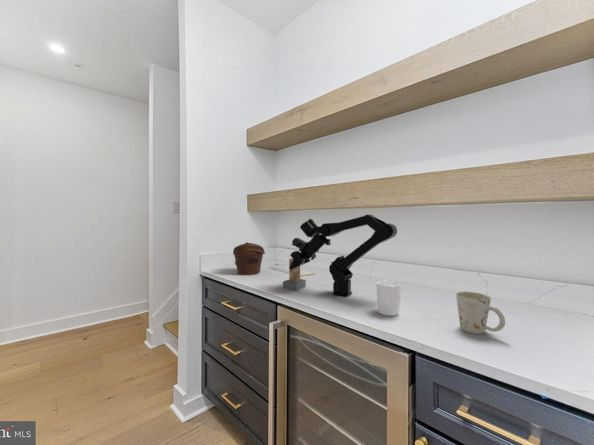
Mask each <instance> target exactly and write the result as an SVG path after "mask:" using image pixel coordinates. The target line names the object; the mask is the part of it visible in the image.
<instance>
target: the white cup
mask: <svg viewBox="0 0 594 445" xmlns="http://www.w3.org/2000/svg"><path fill="white" fill-rule="evenodd" d="M401 290H402V283H400V282H399V281H398V282H397V281H392V280H379V281H377V282H376V299H377V300H376V302H377V313H379V314H380V315H383V316H387V317H388V316H392V317H395V316H398V315H399V313H400V305H401Z"/></svg>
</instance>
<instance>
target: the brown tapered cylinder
mask: <svg viewBox="0 0 594 445" xmlns="http://www.w3.org/2000/svg"><path fill="white" fill-rule="evenodd" d="M232 253H233V255H234V261H233V264H235V266H236V271H237V273H238V274H239V275H241V276H251V275H258V274H259V273H260V272H261V267H262V261H263V257H264V256H263V255H265V249H264V247H263V246H261V245H260V244H257V243H251V242H245V243H243V244H239V245H236V247H235V246H234V248H233V252H232Z"/></svg>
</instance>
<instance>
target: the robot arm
mask: <svg viewBox="0 0 594 445" xmlns="http://www.w3.org/2000/svg"><path fill="white" fill-rule="evenodd" d="M365 226H368V227H369V228H371V230H373V231H374V232H373V234H372V235H371V236H370V238H368V239H366V240H365V241H364V242H362V243H361V244H360V245H359V246H358V247H356V248H355V249H354V250H352V251H351V252H350V253H349V254H347V255H346V256H344V255H339V256H337V257H336V258H335V259H334V260H333V261H331V262H330V263H331V264H330V265H329V267H328V270H329V273H330V275H331V277H332V280H333V282H332V284H333V285H332V286H333V287H332V289H333V290H332V295H335V296H341V297H346V298H347V297H348V296H351V295H352V294H353V292H352V278H353V275H354V274H353V272H352V270H350V269H351V267H352V266H353V264H355V263H356V262H357V261H358V260H360V259H361V258H363V257H364V256H365V255H366V254H368V253H369V252H370V251H372V250H373V249H374V248H376V247H377V246H379V244H383V243H384V242H387V241H389V240H391V239H392V238H394V237H396V236H397V235H398V234H397V233H398V228H397V226H396V225H395V224H394V223H387V222H385V221H384V220H381V219H380V218H378V217H376V216H374V215H373V214H365V215H363V216H359V217H355V218H352V219H348V220H344V221H339V222H328V223H327V222H326V223H322V224H321V225H320V226H318V224H317V223H315V221H314V220H313V219H312V218H309V219H308V220H306V221H304V222H303V223H301V225H300V226H299V229H300V230H301V231H302V232H303V234H304V235H305V236H306V237H307V238H311V239H310V240H308V241H305V240H302V239H301V238H300V237H294V238H293V239H292V241H291V242H292V243H291V246H293V247H296V248H298V250H295V251H294V250H293V251H292V252H291V253H290V254H289V255H290V257H291V258H293V261H292V263H291V265H290V267H289V266H288V267H289V269H290V270H291V269H293V268H296V267H298V266H300V267H301V266H303V265H305V264H308V263H309V262H311V261H314V260H315V259H316V258H317V254H316V253H319V252H320V251H319V250H320V249H321V248H322V247H323V246H324V245H326V246H331V239H330V238H327V237H334V236H336V235H338V234H341V233H342V232H344V231H347V230H352V229H355V228H360V227H365Z"/></svg>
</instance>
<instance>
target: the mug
mask: <svg viewBox="0 0 594 445" xmlns="http://www.w3.org/2000/svg"><path fill="white" fill-rule="evenodd" d="M455 296H456V304H457V311H458V318H459V320H458V321H459V327H460V329H461V330H462V331H464V332H467V333H469V334H475V335H476V334H477V335H483V334H485V332H486V331H491V332H498V331H501V330H503V329H504V327H505V326H506V319H505V316H504V314H503V312H502V311H501V309H499V308H498V307H495V306H492V305H491V301H492V300H491V296H490V295H487V294H485V293H480V292H475V291H458V292H456V294H455ZM490 311H492V312H494V313H495V314H496V315H497V316H498V319H499V322H498V324H497V326H495V327H490V326H487V323H488V317H489V312H490Z"/></svg>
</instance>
